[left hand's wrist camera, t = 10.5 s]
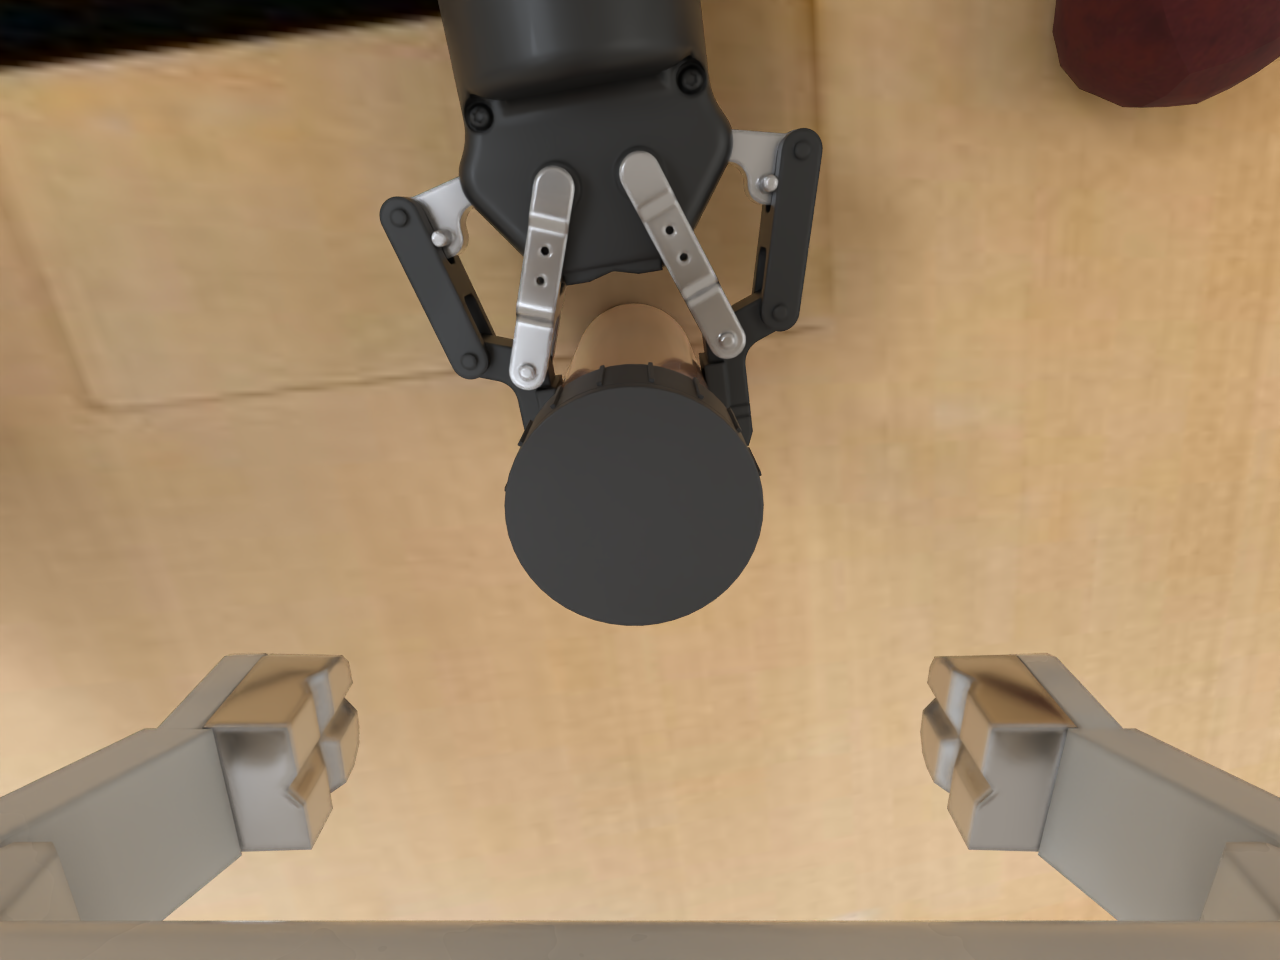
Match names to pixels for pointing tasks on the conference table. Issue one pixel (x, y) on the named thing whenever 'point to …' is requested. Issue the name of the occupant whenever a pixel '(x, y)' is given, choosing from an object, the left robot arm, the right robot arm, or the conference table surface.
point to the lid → (634, 496)
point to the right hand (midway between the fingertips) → (646, 468)
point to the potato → (1164, 47)
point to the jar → (634, 342)
